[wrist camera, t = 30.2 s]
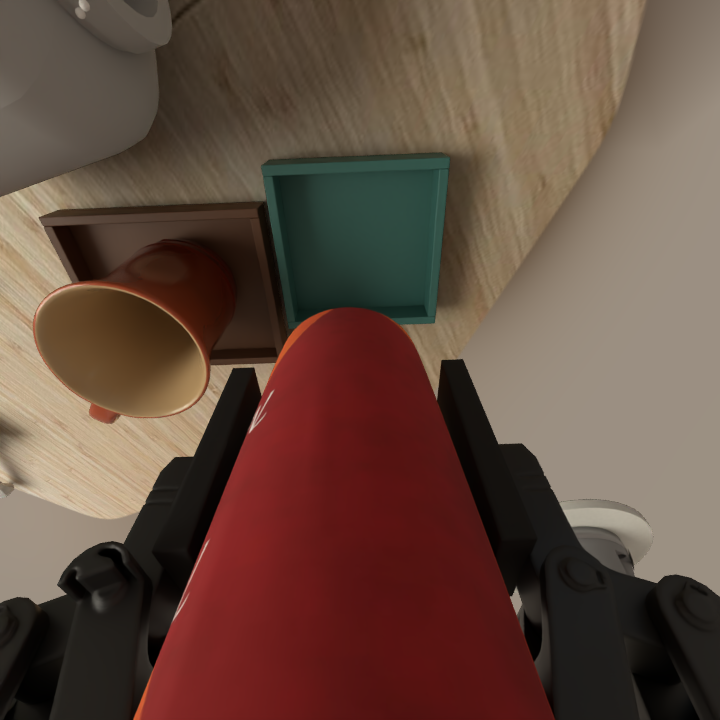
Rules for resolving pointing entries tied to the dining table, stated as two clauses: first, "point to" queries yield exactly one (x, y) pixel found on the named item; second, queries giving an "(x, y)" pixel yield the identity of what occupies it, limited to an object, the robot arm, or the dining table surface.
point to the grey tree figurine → (5, 489)
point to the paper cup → (346, 557)
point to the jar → (75, 83)
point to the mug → (140, 331)
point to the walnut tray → (197, 223)
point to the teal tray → (359, 233)
